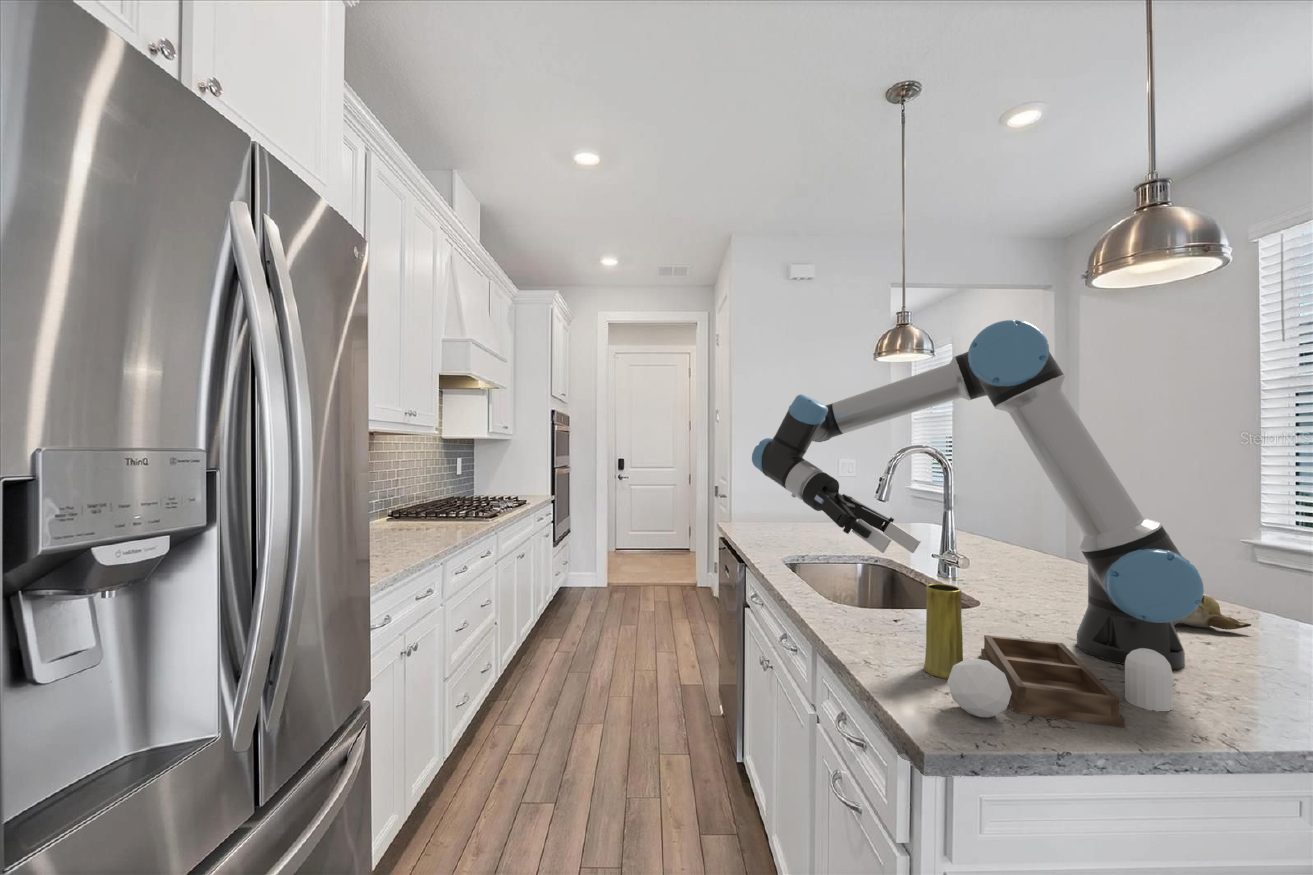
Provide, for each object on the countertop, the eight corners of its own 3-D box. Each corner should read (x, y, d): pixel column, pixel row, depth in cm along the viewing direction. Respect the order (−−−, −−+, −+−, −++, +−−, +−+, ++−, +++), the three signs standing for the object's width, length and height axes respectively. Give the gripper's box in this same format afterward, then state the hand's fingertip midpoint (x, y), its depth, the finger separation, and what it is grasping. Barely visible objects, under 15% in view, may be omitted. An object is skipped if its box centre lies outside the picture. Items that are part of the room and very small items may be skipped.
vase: (946, 682, 90) (946, 593, 90) (915, 668, 96) (915, 584, 96) (972, 676, 93) (972, 589, 93) (940, 663, 98) (940, 581, 98)
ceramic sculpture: (1136, 576, 126) (1214, 584, 123) (1133, 615, 126) (1211, 623, 123) (1169, 589, 116) (1256, 597, 113) (1167, 631, 116) (1253, 640, 113)
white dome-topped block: (1181, 708, 82) (1180, 653, 82) (1158, 714, 80) (1158, 658, 80) (1138, 693, 87) (1138, 641, 87) (1116, 698, 85) (1116, 645, 85)
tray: (1066, 664, 98) (1065, 643, 98) (1124, 727, 76) (1124, 700, 76) (981, 655, 102) (981, 634, 102) (1013, 711, 80) (1013, 685, 81)
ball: (996, 736, 79) (1034, 704, 75) (945, 718, 78) (981, 684, 74) (976, 689, 85) (1010, 657, 82) (929, 672, 85) (961, 639, 81)
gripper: (833, 505, 126) (917, 563, 112) (771, 497, 109) (861, 564, 94) (849, 476, 124) (937, 531, 110) (789, 464, 107) (884, 527, 92)
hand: (902, 546), depth 102 cm, fingers open, 13 cm apart
